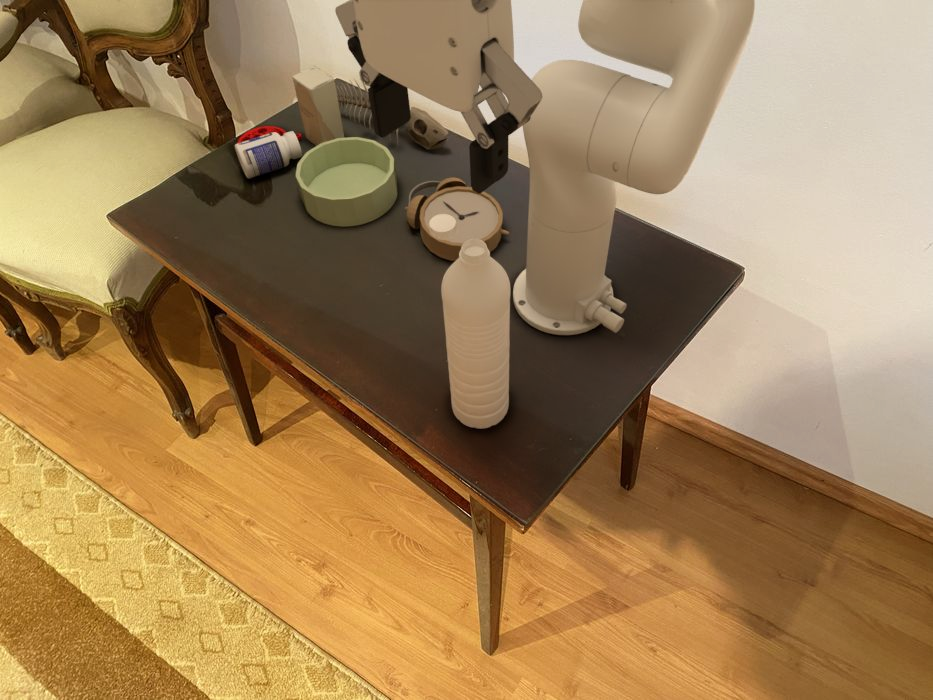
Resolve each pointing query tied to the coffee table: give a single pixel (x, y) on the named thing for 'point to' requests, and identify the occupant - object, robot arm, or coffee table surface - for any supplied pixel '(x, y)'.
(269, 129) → the ornament
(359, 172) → the holder
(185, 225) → the coffee table surface
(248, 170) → the pill bottle
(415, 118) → the fish skeleton
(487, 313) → the plastic bottle and lid
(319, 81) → the box
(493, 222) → the alarm clock
